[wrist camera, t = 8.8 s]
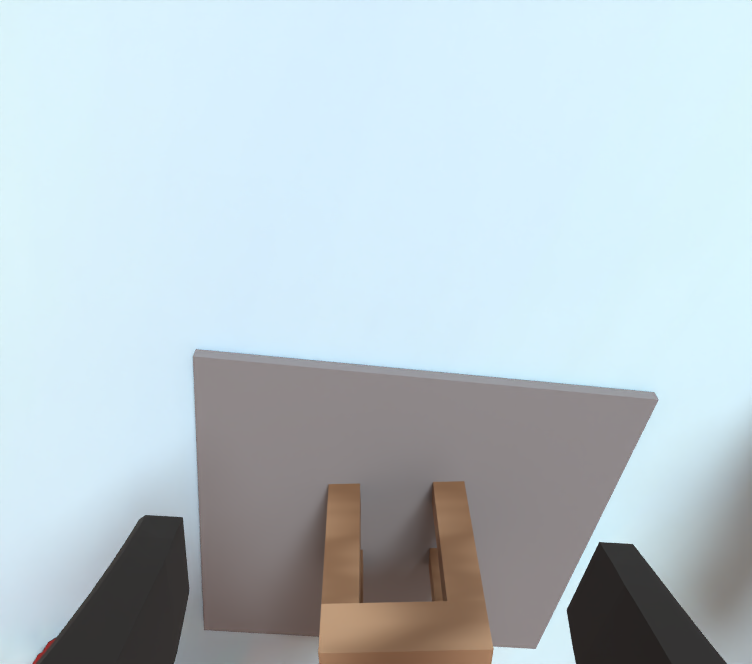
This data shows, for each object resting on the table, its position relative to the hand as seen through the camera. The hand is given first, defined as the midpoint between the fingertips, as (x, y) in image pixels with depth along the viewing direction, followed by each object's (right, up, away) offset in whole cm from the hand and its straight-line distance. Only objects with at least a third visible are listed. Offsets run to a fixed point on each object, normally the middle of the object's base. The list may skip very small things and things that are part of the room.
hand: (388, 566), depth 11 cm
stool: (+1, -4, +15) cm, 15 cm away
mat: (+1, -4, +15) cm, 16 cm away
